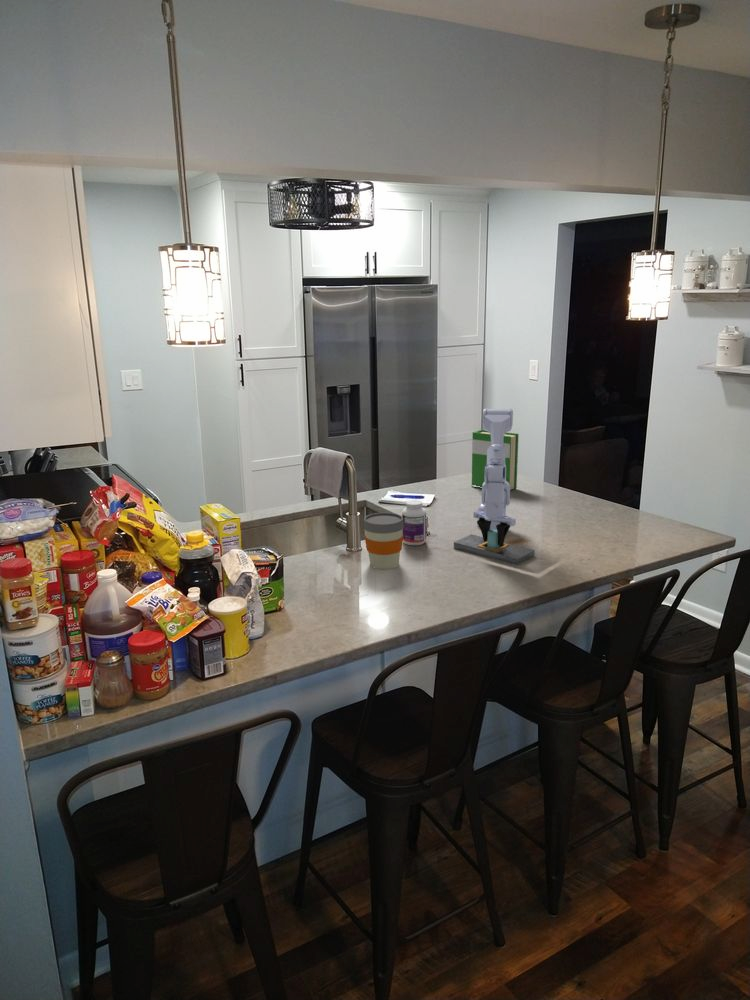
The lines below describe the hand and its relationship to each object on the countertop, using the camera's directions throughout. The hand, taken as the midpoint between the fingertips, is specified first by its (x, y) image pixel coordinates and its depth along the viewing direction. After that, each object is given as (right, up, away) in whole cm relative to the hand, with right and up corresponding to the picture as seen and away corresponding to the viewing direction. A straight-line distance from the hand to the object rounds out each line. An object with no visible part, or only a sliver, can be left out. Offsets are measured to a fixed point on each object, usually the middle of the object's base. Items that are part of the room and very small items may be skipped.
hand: (493, 542), depth 228 cm
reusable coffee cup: (-35, -7, -4) cm, 36 cm away
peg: (0, -4, +1) cm, 4 cm away
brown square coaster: (+9, -1, +10) cm, 14 cm away
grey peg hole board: (0, -4, +1) cm, 4 cm away
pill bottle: (-25, -1, +14) cm, 28 cm away
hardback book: (+13, +19, +78) cm, 81 cm away
